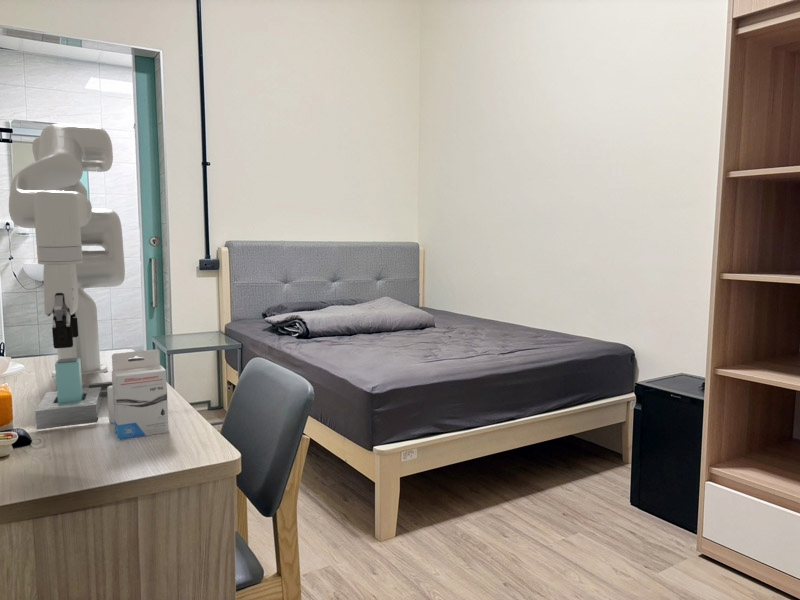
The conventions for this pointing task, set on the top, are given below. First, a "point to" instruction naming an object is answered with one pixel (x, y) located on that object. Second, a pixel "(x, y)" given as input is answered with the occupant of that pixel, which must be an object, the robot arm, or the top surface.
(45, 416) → the port
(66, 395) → the plug
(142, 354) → the ink box
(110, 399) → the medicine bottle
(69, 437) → the top surface
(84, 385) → the grey square socket
